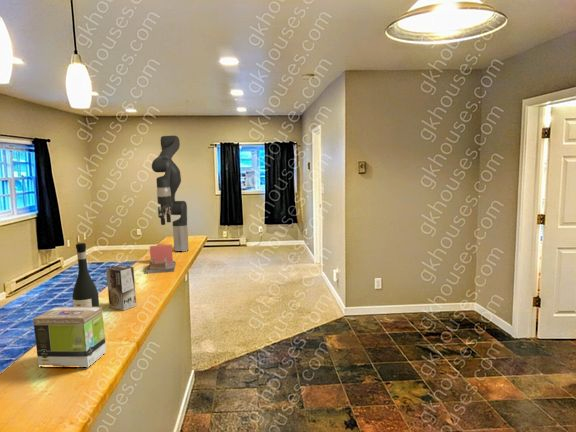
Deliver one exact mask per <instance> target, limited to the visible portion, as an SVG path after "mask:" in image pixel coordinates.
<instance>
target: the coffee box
mask: <svg viewBox="0 0 576 432" xmlns="http://www.w3.org/2000/svg"><path fill="white" fill-rule="evenodd" d="M134 267H135V266H129V265H128V266H127V265H123V264H122V265H121V264H118V265H113V266H111V267H108V268H105V275H106V284H107V293H108V294H107V295H108V303H109V308H111V309H116V310H121V311H126V310H129V309H132V308H134V307H135V308H136V307H137V298H136V286H135V285H136V284H135V283H136V282H135V271H134V270H135V269H134Z"/></svg>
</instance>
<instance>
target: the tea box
mask: <svg viewBox="0 0 576 432" xmlns="http://www.w3.org/2000/svg"><path fill="white" fill-rule="evenodd" d="M103 314H104V313H103V308H102V306H99V307H73V306H55V307H53V308H52V309H49V310H48V311H46V312H44V313H41V314H39V315H37V316H35V317H33V319H32V320H33V328H34V329H33V330H34V337H35V346H36V356H37V365H38V366H39V365H53V366H79V367H88V366H90V365H91V364H93V363H94V362H95V361H96V360H97V359H99V358H100V357H101V356H102V355H103V354H104V353H107V350H106V349H107V348H106V347H107V346H106V337H105V336H106V335H105V326H104V315H103ZM103 356H104V355H103ZM103 356H102V357H103ZM102 357H101V358H102ZM101 358H100V359H101ZM100 359H99V360H100ZM97 361H98V360H97ZM97 361H96V362H97ZM96 362H95V363H96ZM95 363H94V364H95ZM94 364H93V365H94ZM91 366H92V365H91ZM91 366H90V367H91Z"/></svg>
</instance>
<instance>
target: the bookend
mask: <svg viewBox="0 0 576 432" xmlns="http://www.w3.org/2000/svg"><path fill="white" fill-rule="evenodd" d="M164 263H165V268H166V267H172V266H173V262H168V263H167V256H165V259H164Z"/></svg>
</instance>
